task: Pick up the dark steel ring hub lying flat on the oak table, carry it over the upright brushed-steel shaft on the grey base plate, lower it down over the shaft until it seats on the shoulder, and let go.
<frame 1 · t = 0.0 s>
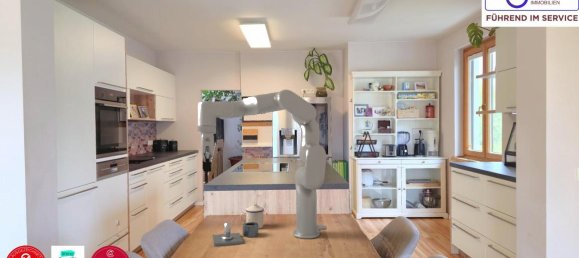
hand: (206, 170, 140), 31 cm above the table, tool pointing down, fingers open, 9 cm apart
teacup with lid: (251, 227, 165), on the table
shaft block: (227, 240, 144), on the table
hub: (250, 235, 152), on the table
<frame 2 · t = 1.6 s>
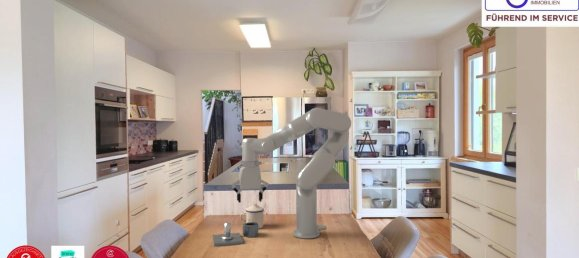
hand: (249, 201, 152), 15 cm above the table, tool pointing down, fingers open, 9 cm apart
nothing on the table moved.
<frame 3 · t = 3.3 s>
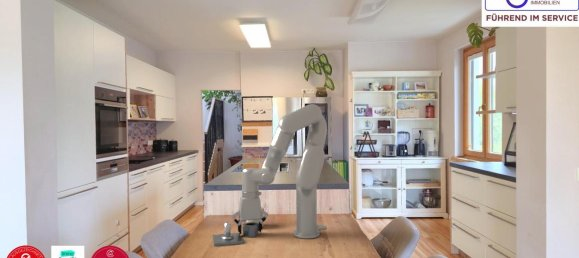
hand: (250, 232, 152), 1 cm above the table, tool pointing down, fingers open, 8 cm apart
nothing on the table moved.
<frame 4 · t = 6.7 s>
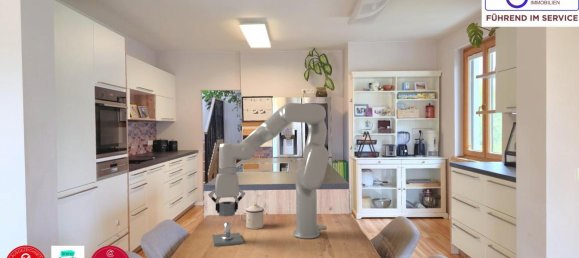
hand: (226, 211, 144), 13 cm above the table, tool pointing down, fingers closed on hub, 6 cm apart
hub: (226, 214, 144), point 11 cm above the table, touching gripper
everything else where it was.
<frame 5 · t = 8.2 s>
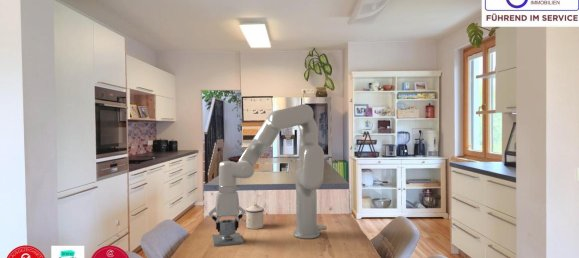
hand: (227, 230, 144), 5 cm above the table, tool pointing down, fingers closed on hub, 6 cm apart
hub: (227, 232, 144), point 3 cm above the table, touching gripper
everything else where it was.
when the fingers open (4 cm above the table, at t = 9.6 s): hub stays where it is, resting on shaft block.
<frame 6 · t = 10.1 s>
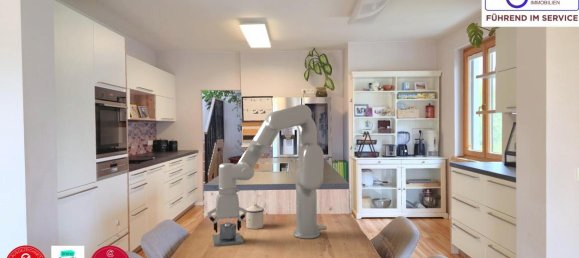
hand: (227, 230, 144), 4 cm above the table, tool pointing down, fingers open, 9 cm apart
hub: (227, 236, 144), point 2 cm above the table, touching shaft block
everything else where it was.
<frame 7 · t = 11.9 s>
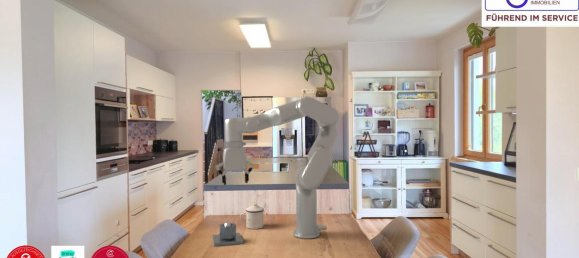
hand: (235, 183, 147), 24 cm above the table, tool pointing down, fingers open, 9 cm apart
nothing on the table moved.
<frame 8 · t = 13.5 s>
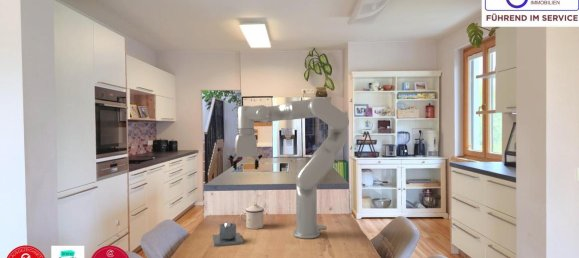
hand: (245, 169, 153), 30 cm above the table, tool pointing down, fingers open, 9 cm apart
nothing on the table moved.
at the end: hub 0.1 cm off-centre on the shaft block, point 1.8 cm above the shaft block's base; the gripper is holding nothing; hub tilted 0° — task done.
